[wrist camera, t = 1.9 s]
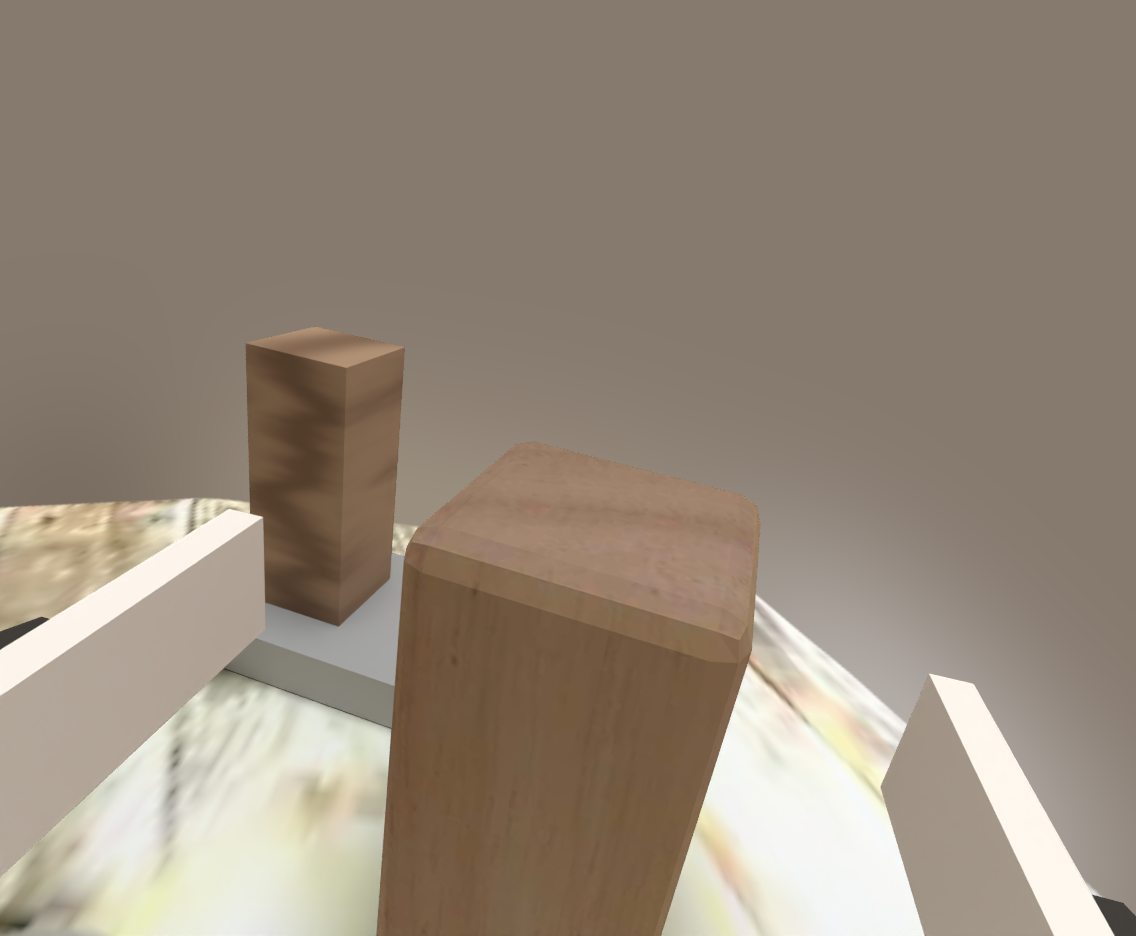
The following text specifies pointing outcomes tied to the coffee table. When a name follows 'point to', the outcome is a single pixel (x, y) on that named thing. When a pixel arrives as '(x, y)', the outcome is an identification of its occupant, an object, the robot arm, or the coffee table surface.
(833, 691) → the coffee table surface
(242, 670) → the foundation
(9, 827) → the robot arm
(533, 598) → the block
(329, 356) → the walnut pillar
